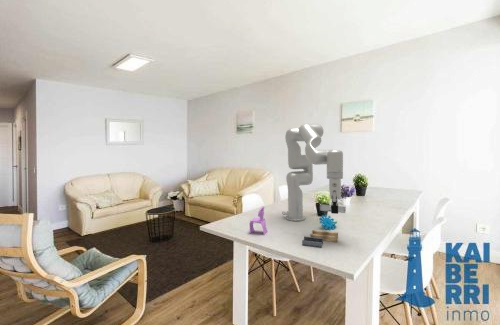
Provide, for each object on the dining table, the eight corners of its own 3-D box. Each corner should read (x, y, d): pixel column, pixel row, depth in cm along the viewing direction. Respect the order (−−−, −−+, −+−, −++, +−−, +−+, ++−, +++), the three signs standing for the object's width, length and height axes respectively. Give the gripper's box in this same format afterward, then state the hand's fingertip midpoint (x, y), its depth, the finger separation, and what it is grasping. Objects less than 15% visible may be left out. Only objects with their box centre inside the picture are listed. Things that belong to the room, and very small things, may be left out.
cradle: (302, 246, 120) (302, 240, 120) (304, 241, 126) (304, 236, 126) (321, 248, 117) (321, 243, 116) (323, 243, 123) (323, 238, 123)
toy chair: (253, 229, 146) (253, 204, 145) (268, 231, 143) (267, 205, 142) (248, 234, 138) (248, 207, 138) (263, 236, 135) (263, 208, 134)
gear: (322, 229, 140) (318, 213, 146) (318, 233, 144) (314, 218, 151) (340, 230, 142) (335, 214, 149) (335, 235, 146) (331, 219, 153)
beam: (310, 239, 128) (310, 234, 128) (312, 234, 135) (312, 230, 135) (337, 242, 123) (337, 237, 123) (338, 237, 131) (338, 232, 130)
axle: (319, 211, 125) (319, 204, 124) (320, 209, 128) (320, 203, 127) (345, 214, 121) (345, 207, 120) (345, 212, 124) (345, 205, 123)
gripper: (343, 177, 114) (342, 217, 115) (342, 173, 129) (342, 209, 130) (325, 177, 116) (325, 216, 117) (327, 173, 132) (327, 208, 133)
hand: (334, 212), depth 124 cm, fingers closed on axle, 3 cm apart
